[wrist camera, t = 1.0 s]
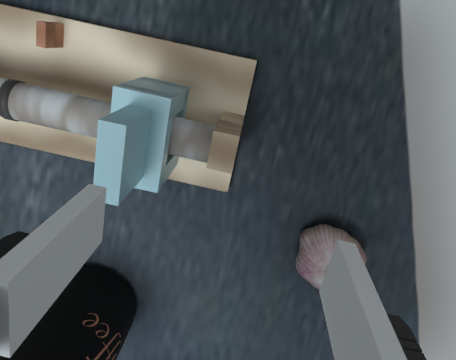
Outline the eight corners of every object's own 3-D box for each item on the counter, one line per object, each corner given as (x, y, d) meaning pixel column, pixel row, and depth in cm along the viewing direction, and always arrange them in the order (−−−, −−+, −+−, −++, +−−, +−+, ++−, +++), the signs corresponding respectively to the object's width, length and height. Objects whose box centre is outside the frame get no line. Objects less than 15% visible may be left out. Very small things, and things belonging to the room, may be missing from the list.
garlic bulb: (291, 218, 40) (297, 260, 32) (361, 213, 39) (384, 255, 31) (295, 277, 42) (302, 329, 35) (361, 274, 41) (383, 325, 34)
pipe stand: (228, 186, 39) (218, 230, 30) (-11, 133, 39) (-92, 160, 30) (257, 60, 34) (255, 67, 25) (-16, -1, 34) (-113, -15, 25)
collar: (177, 163, 34) (135, 224, 22) (135, 153, 34) (71, 210, 22) (190, 86, 31) (150, 112, 20) (144, 76, 31) (77, 96, 20)
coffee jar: (137, 338, 47) (69, 500, 31) (57, 325, 48) (-54, 479, 31) (139, 268, 44) (63, 411, 27) (52, 255, 44) (-77, 388, 27)
